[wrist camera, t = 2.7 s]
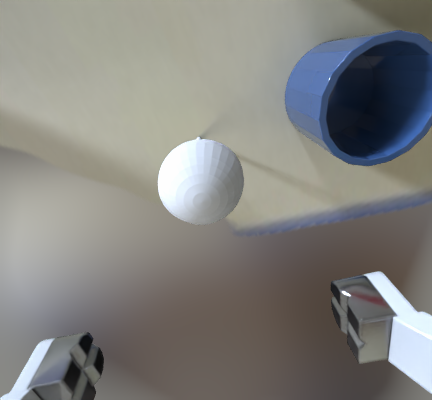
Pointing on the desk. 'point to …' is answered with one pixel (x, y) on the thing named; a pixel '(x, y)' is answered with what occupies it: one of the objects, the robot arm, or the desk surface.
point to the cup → (364, 95)
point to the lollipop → (201, 181)
